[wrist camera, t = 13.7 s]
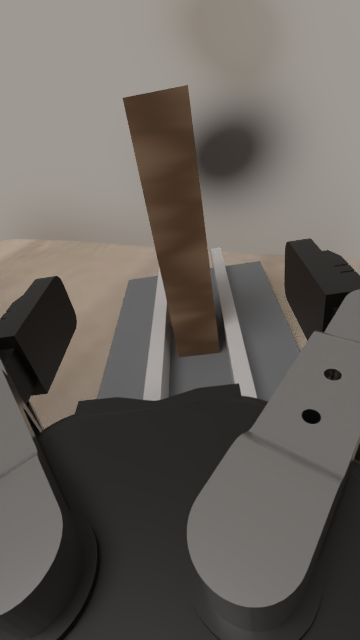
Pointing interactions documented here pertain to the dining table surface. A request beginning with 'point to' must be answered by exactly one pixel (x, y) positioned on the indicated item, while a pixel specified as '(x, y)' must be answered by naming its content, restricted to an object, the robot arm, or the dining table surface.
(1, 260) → the dining table surface
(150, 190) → the brown wooden block
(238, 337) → the track plinth
